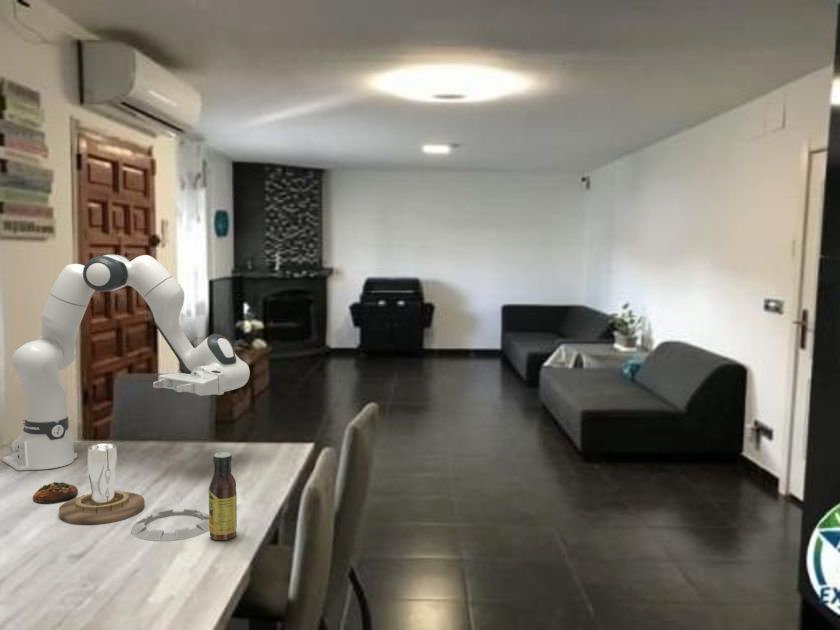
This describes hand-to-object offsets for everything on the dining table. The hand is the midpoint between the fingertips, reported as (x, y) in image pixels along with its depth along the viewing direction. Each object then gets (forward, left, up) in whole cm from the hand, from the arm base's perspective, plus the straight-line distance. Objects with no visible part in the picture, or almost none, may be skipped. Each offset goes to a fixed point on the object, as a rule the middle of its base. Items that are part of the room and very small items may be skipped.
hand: (165, 387), depth 202 cm
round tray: (+5, -23, -28) cm, 37 cm away
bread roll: (-14, -24, -28) cm, 40 cm away
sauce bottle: (+43, -17, -28) cm, 54 cm away
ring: (+28, -19, -29) cm, 44 cm away
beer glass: (+5, -23, -27) cm, 36 cm away
